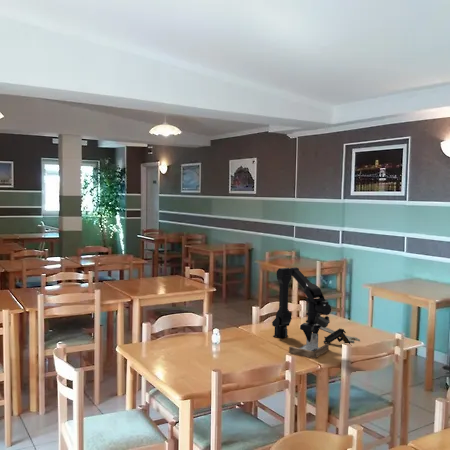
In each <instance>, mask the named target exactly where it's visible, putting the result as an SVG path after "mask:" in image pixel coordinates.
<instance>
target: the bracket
mask: <svg viewBox="0 0 450 450" xmlns="http://www.w3.org/2000/svg"><path fill="white" fill-rule="evenodd" d="M305 339H306V340H305V341H306V343H305V345H306V346H304V345H303V346H304V347H303V348H301V349H305V350H310V351H315V350H317V349H318V347H319V333H318V334H314V333H313V332H312V335H311V341H310V342H308V340H307V338H306V337H305Z"/></svg>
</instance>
